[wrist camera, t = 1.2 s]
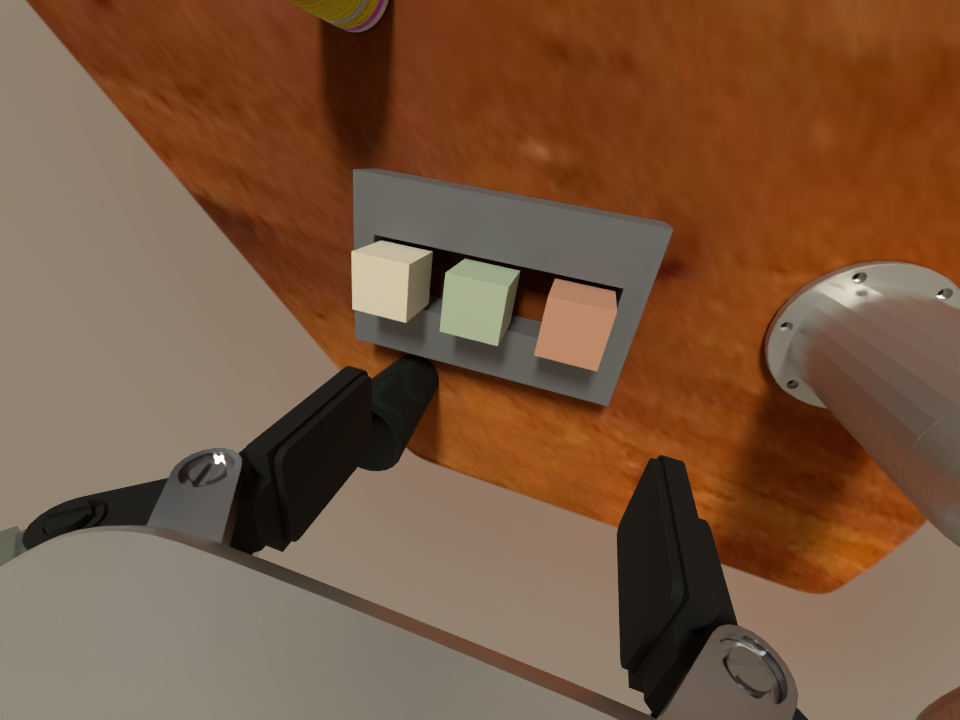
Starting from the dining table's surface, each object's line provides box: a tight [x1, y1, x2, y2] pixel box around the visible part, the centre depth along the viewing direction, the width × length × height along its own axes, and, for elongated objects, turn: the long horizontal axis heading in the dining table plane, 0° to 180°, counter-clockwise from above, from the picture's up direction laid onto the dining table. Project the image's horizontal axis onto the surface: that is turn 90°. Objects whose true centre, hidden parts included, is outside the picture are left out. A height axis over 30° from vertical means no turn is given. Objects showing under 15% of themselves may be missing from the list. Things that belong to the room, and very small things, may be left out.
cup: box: [358, 354, 439, 471], centre depth 41 cm, size 8×8×12 cm
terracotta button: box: [534, 278, 617, 371], centre depth 32 cm, size 5×5×5 cm
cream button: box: [351, 240, 433, 323], centre depth 35 cm, size 5×5×5 cm
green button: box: [440, 259, 520, 346], centre depth 33 cm, size 5×5×5 cm
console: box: [353, 168, 673, 406], centre depth 37 cm, size 26×16×4 cm, turn 82°
